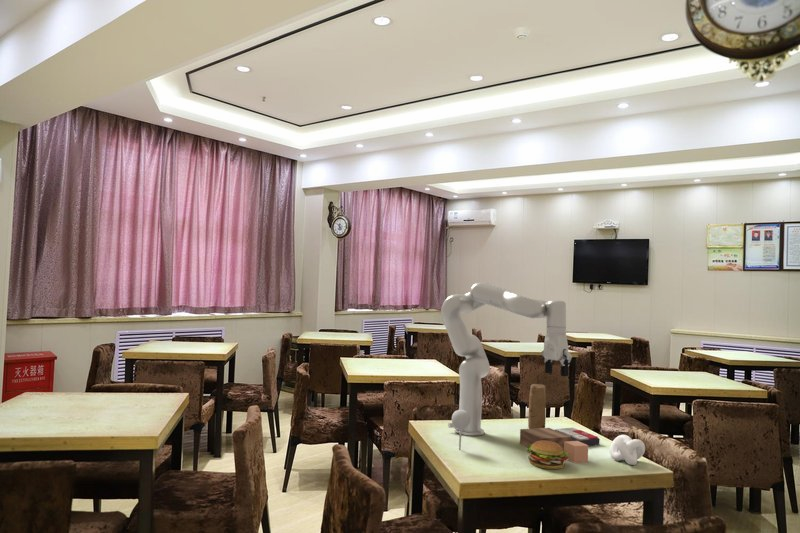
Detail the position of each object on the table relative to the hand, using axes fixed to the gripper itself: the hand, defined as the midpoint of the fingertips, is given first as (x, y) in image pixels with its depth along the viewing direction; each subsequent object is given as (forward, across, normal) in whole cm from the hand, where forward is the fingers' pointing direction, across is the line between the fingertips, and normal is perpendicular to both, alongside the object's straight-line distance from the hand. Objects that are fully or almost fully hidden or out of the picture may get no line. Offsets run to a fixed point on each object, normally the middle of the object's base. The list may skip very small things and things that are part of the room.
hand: (556, 374), depth 206 cm
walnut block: (+29, -2, -4) cm, 29 cm away
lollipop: (+28, -7, -40) cm, 49 cm away
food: (+29, +16, -16) cm, 37 cm away
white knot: (+30, +19, +16) cm, 39 cm away
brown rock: (+28, -28, +11) cm, 41 cm away
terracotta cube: (+29, +14, -2) cm, 32 cm away
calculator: (+30, -8, +16) cm, 35 cm away
